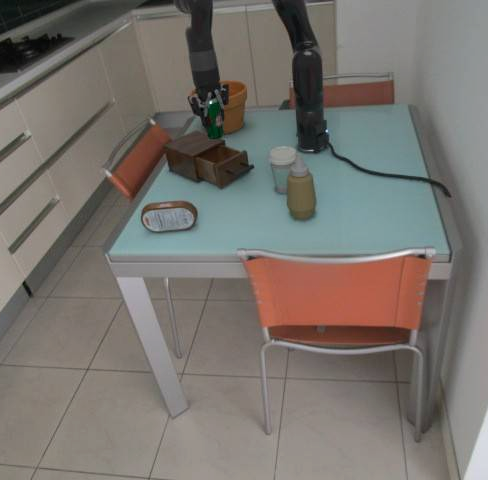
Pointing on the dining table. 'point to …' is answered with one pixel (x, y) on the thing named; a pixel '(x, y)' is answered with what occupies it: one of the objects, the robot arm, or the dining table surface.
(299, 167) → the squeeze bottle
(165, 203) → the tin
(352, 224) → the dining table surface
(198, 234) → the dining table surface
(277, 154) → the coffee cup
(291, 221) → the dining table surface
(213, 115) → the soda can
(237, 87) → the flower pot
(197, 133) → the cabinet
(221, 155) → the drawer
